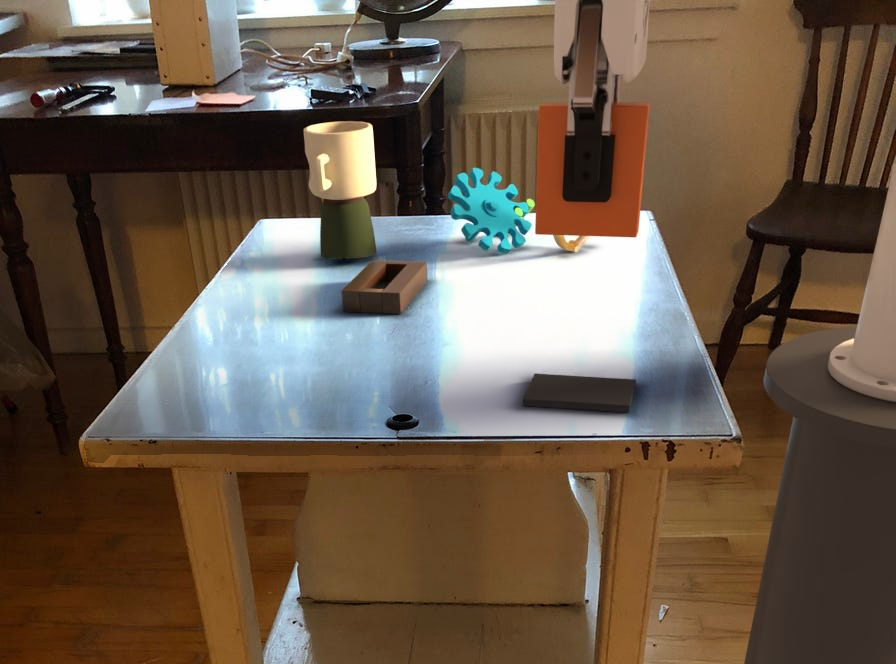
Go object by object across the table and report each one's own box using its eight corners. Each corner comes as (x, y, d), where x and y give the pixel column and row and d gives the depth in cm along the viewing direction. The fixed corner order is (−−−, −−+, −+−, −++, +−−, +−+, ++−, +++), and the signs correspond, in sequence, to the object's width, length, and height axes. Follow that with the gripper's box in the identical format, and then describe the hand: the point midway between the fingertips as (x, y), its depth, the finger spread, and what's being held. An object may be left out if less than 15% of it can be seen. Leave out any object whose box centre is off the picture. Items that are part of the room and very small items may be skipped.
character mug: (340, 242, 112) (329, 116, 105) (397, 246, 110) (390, 117, 102) (297, 270, 105) (281, 136, 97) (357, 275, 102) (346, 138, 94)
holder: (427, 281, 99) (426, 261, 98) (400, 314, 92) (399, 293, 91) (373, 279, 101) (372, 259, 100) (343, 311, 93) (341, 290, 92)
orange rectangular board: (538, 229, 69) (542, 102, 64) (638, 232, 68) (650, 102, 63) (534, 234, 68) (538, 106, 63) (636, 237, 66) (648, 105, 62)
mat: (635, 386, 76) (636, 379, 76) (629, 413, 72) (629, 405, 72) (534, 380, 78) (534, 373, 78) (522, 406, 74) (522, 398, 74)
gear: (472, 248, 102) (441, 163, 103) (446, 280, 107) (417, 199, 108) (554, 243, 107) (523, 163, 108) (526, 274, 112) (497, 197, 113)
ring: (582, 241, 108) (585, 162, 103) (605, 246, 106) (610, 166, 101) (540, 256, 104) (543, 175, 100) (564, 261, 103) (567, 179, 98)
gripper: (667, -159, 48) (632, 229, 60) (685, -151, 60) (654, 172, 71) (518, -150, 50) (512, 226, 61) (564, -143, 62) (552, 170, 73)
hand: (588, 195), depth 66 cm, fingers closed on orange rectangular board, 1 cm apart
